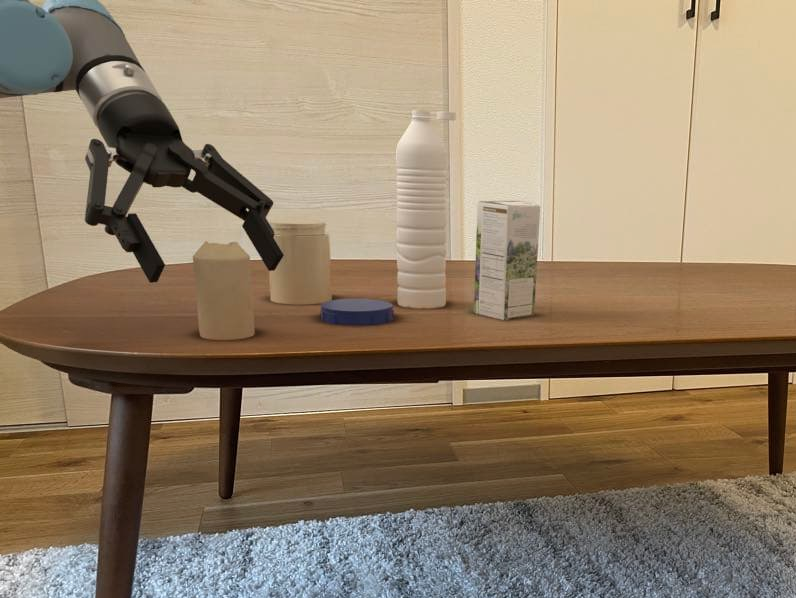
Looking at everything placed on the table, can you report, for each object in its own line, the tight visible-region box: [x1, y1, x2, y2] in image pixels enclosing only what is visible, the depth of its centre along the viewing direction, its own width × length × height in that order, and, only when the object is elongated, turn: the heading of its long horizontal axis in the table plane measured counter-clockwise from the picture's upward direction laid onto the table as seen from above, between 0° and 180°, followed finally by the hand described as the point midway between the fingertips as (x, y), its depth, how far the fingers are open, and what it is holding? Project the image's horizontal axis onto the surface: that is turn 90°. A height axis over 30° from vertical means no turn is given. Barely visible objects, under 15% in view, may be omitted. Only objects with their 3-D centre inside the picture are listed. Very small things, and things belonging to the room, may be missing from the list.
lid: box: [320, 298, 394, 327], centre depth 94 cm, size 8×8×2 cm
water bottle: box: [395, 109, 457, 310], centre depth 103 cm, size 9×6×25 cm
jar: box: [268, 218, 333, 305], centre depth 104 cm, size 8×8×10 cm
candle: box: [192, 240, 256, 341], centre depth 82 cm, size 6×6×10 cm
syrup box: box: [473, 200, 541, 321], centre depth 99 cm, size 6×6×14 cm
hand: (220, 268), depth 82 cm, fingers open, 13 cm apart
